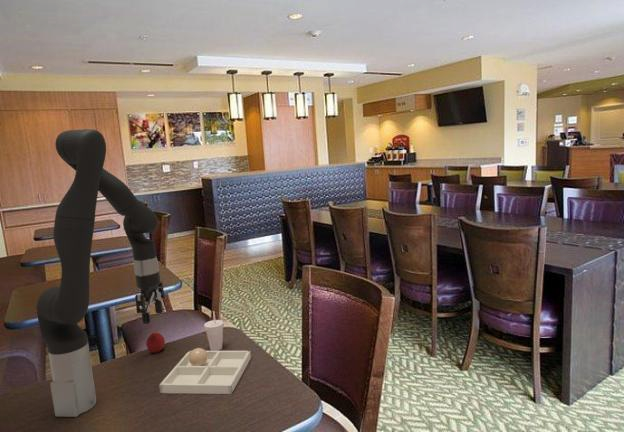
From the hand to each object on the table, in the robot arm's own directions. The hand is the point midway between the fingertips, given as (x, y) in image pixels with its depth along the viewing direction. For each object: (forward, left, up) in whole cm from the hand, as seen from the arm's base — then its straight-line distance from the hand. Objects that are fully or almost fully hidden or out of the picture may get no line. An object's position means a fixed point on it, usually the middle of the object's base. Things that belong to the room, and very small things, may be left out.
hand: (153, 317), depth 143 cm
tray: (-15, -24, -12) cm, 31 cm away
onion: (0, 0, -13) cm, 13 cm away
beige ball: (-10, -19, -12) cm, 24 cm away
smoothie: (+2, -20, -13) cm, 24 cm away
